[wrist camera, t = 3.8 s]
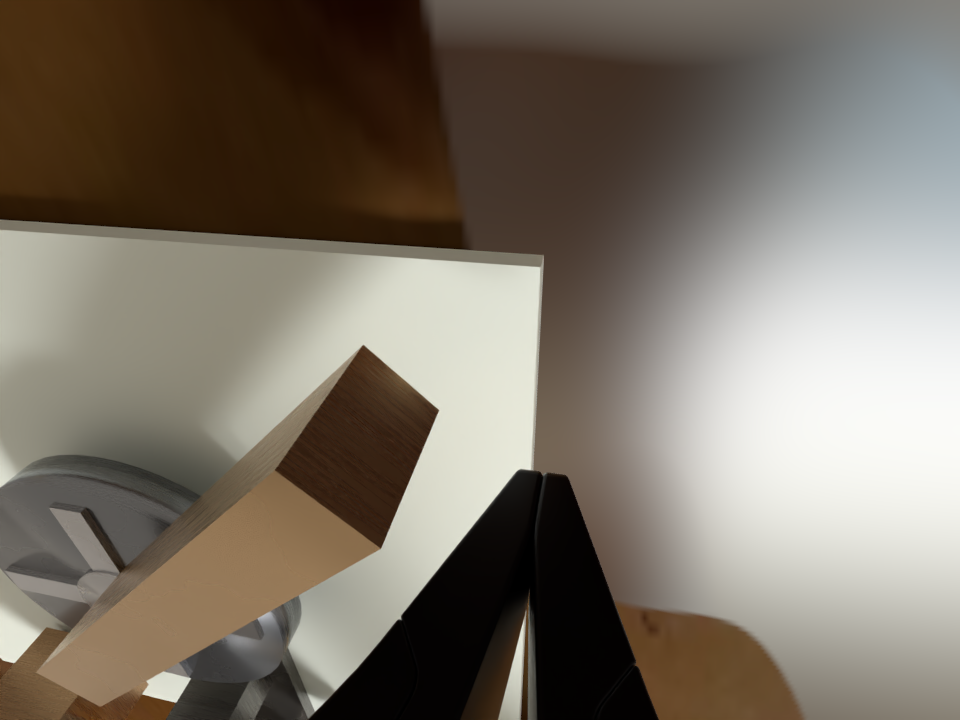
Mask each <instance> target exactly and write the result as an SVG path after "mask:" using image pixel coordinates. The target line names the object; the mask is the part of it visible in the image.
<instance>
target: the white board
mask: <svg viewBox="0 0 960 720" xmlns="http://www.w3.org/2000/svg"><path fill="white" fill-rule="evenodd" d="M543 263H544V255H536V254H521V253H504V252H490V251H475V250H460V249H444V248H429V247H414V246H398V245H383V244H368V243H352V242H337V241H321V240H306V239H291V238H275V237H260V236H245V235H229V234H214V233H199V232H183V231H168V230H153V229H137V228H122V227H107V226H91V225H76V224H61V223H45V222H30V221H15V220H0V487H1V486H3V485H4V484H5V483H6V482H8V481H9V480H10V479H11V478H12V477H14V476H15V475H16V474H17V473H19V472H20V471H21V470H22V469H23V468H25V467H26V466H28V465H29V464H31V463H32V462H34V461H37V460H39V459H42V458H45V457H50V456H56V455H85V456H94V457H100V458H105V459H110V460H115V461H119V462H122V463H125V464H129V465H132V466H136V467H139V468H141V469H144V470H147V471H149V472H152V473H155V474H157V475H160V476H162V477H164V478H166V479H169V480H171V481H173V482H175V483H177V484H179V485H182V486H184V487H185V488H187V489H189V490H191V491H193V492H194V493H196V494H198V495H200V496H202V495H203V494H204V493H205V492H206V491H207V490H208V489H209V488H210V487H211V486H212V485H214V484H215V483H216V482H217V481H218V480H219V479H220V478H221V477H222V476H223V475H224V474H225V473H226V472H227V471H229V470H230V469H231V468H232V467H233V466H234V465H235V464H236V463H237V462H238V461H239V460H240V459H241V458H242V457H244V456H245V455H246V454H247V453H248V452H249V451H250V450H251V449H252V448H253V447H254V446H255V445H256V444H257V443H259V442H260V441H261V440H262V439H263V438H264V437H265V436H266V435H267V434H268V433H269V432H270V431H271V430H272V429H274V428H275V427H276V426H277V425H278V424H279V423H280V422H281V421H282V420H283V419H284V418H285V417H286V416H287V415H289V414H290V413H291V412H292V411H293V410H294V409H295V408H296V407H297V406H298V405H299V404H300V403H301V402H302V401H304V400H305V399H306V398H307V397H308V396H309V395H310V394H311V393H312V392H313V391H314V390H315V389H316V388H317V387H319V386H320V385H321V384H322V383H323V382H324V381H325V380H326V379H327V378H328V377H329V376H330V375H331V374H332V373H334V372H335V371H336V370H337V369H338V368H339V367H340V366H341V365H342V364H343V363H344V362H345V361H346V360H347V359H349V358H350V357H351V356H352V355H353V354H354V353H355V352H356V351H357V350H358V349H359V348H360V347H361V346H362V345H364V346H366V347H367V348H368V349H369V350H370V351H371V352H372V353H374V354H375V355H376V356H377V357H378V358H379V359H381V360H382V361H383V362H384V363H385V364H386V365H388V366H389V367H390V368H391V369H392V370H393V371H394V372H396V373H397V374H398V375H399V376H400V377H401V378H403V379H404V380H405V381H406V382H407V383H408V384H410V385H411V386H412V387H413V388H414V389H415V390H416V391H418V392H419V393H420V394H421V395H422V396H423V397H425V398H426V399H427V400H428V401H429V402H430V403H432V404H433V405H434V406H435V407H436V408H437V409H438V410H439V412H438V414H437V417H436V419H435V422H434V424H433V426H432V429H431V431H430V433H429V436H428V438H427V441H426V443H425V445H424V448H423V450H422V453H421V455H420V457H419V460H418V462H417V464H416V467H415V469H414V472H413V474H412V476H411V479H410V481H409V484H408V486H407V488H406V491H405V493H404V495H403V498H402V500H401V503H400V505H399V507H398V510H397V512H396V515H395V517H394V519H393V522H392V524H391V526H390V529H389V531H388V534H387V536H386V538H385V541H384V543H383V546H382V548H381V549H380V550H378V551H376V552H375V553H373V554H371V555H369V556H367V557H366V558H364V559H362V560H360V561H359V562H357V563H355V564H353V565H352V566H350V567H348V568H346V569H344V570H343V571H341V572H339V573H337V574H336V575H334V576H332V577H330V578H328V579H327V580H325V581H323V582H321V583H320V584H318V585H316V586H314V587H312V588H311V589H309V590H307V591H305V592H304V593H302V594H300V595H299V598H300V601H301V611H302V615H301V620H300V624H299V626H298V628H297V630H296V632H295V634H294V636H293V638H292V640H291V642H290V644H289V646H288V649H289V652H290V654H291V656H292V659H293V661H294V663H295V666H296V668H297V670H298V673H299V675H300V677H301V680H302V682H303V685H304V687H305V689H306V692H307V694H308V696H309V699H310V701H311V703H312V706H313V708H314V710H315V711H316V710H317V709H318V708H319V707H320V706H321V705H322V704H323V703H324V702H325V701H326V700H327V699H328V698H329V697H330V696H331V695H332V694H333V693H334V692H335V691H336V690H337V689H338V688H339V687H340V686H341V685H342V684H343V682H344V681H345V680H346V679H347V678H348V677H349V676H350V675H351V674H352V673H353V672H354V671H355V670H356V669H357V668H358V667H359V665H360V664H361V663H362V662H363V661H364V659H365V658H366V657H367V656H368V655H369V654H370V652H371V651H372V650H373V649H374V648H375V647H376V645H377V644H378V643H379V642H380V641H381V639H382V638H383V637H384V636H385V635H386V633H387V632H388V631H389V629H390V628H391V627H392V626H393V624H394V623H395V622H396V621H397V620H398V619H400V620H401V615H402V614H403V612H404V611H405V610H406V609H407V607H408V606H409V605H410V604H411V602H412V601H413V600H414V599H415V597H416V596H417V595H418V594H419V592H420V591H421V590H422V589H423V587H424V586H425V585H426V584H427V582H428V581H429V580H430V579H431V577H432V576H433V575H434V574H435V572H436V571H437V570H438V569H439V567H440V566H441V565H442V564H443V562H444V561H445V560H446V559H447V557H448V556H449V555H450V554H451V552H452V551H453V550H454V549H455V547H456V546H457V545H458V544H459V542H460V541H461V540H462V539H463V537H464V536H465V535H466V534H467V532H468V531H469V530H470V529H471V527H472V526H473V525H474V524H475V522H476V521H477V520H478V519H479V517H480V516H481V515H482V514H483V512H484V511H485V510H486V509H487V507H488V506H489V505H490V504H491V502H492V501H493V500H494V499H495V497H496V496H497V495H498V494H499V492H500V491H501V490H502V489H503V487H504V486H505V485H506V484H507V482H508V481H509V480H510V479H511V477H512V476H513V475H514V474H515V472H516V471H517V470H519V469H526V470H533V464H534V444H535V423H536V403H537V382H538V363H539V362H538V361H539V343H540V342H539V341H540V323H541V303H542V283H543V282H542V281H543ZM525 624H526V612H525V617H524V621H523V624H522V628H521V632H520V636H519V640H518V644H517V648H516V652H515V656H514V660H513V663H512V667H511V671H510V675H509V679H508V683H507V687H506V691H505V695H504V699H503V703H502V706H501V710H500V714H499V718H498V720H521V705H522V685H523V665H524V644H525ZM46 627H48V628H52V629H57V630H61V631H66V632H70V631H71V630H72V628H70V627H69V626H67V625H66V624H64V623H63V622H61V621H60V620H58V619H57V618H55V617H54V616H52V615H51V614H50V613H48V612H47V611H46V610H44V609H43V608H42V607H40V606H39V605H38V604H37V603H35V602H34V601H33V600H32V599H30V598H29V597H28V596H27V595H26V594H25V593H24V592H22V591H21V590H20V589H19V588H18V587H17V586H16V585H15V584H14V583H13V582H12V581H11V580H10V579H9V578H8V577H7V576H6V575H5V574H4V572H3V571H2V570H1V569H0V658H1V659H2V660H3V661H8V662H12V663H15V662H16V661H17V660H18V659H19V658H20V656H21V655H22V654H23V653H24V652H25V651H26V650H27V649H28V647H29V646H30V645H31V644H32V643H33V642H34V641H35V640H36V638H37V637H38V636H39V635H40V634H41V633H42V632H43V631H44V629H45V628H46ZM190 679H191V678H188V677H183V676H180V675H176V674H172V673H167V672H164V671H163V672H162V673H160V674H158V675H156V676H154V677H153V678H151V679H149V680H147V681H146V682H147V683H148V684H149V685H148V686H147V688H146V689H145V691H144V692H143V695H147V696H151V697H155V698H159V699H163V700H167V701H172V702H177V701H178V699H179V697H180V696H181V694H182V693H183V691H184V689H185V688H186V686H187V684H188V683H189V681H190Z"/></svg>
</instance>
